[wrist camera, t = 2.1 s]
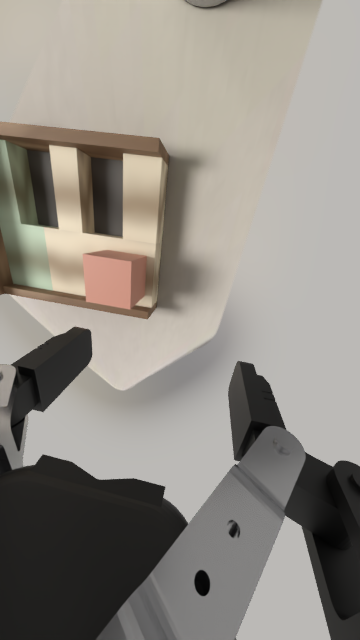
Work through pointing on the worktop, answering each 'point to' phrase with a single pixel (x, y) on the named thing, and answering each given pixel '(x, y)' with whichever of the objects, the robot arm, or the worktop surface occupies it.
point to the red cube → (114, 278)
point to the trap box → (77, 209)
